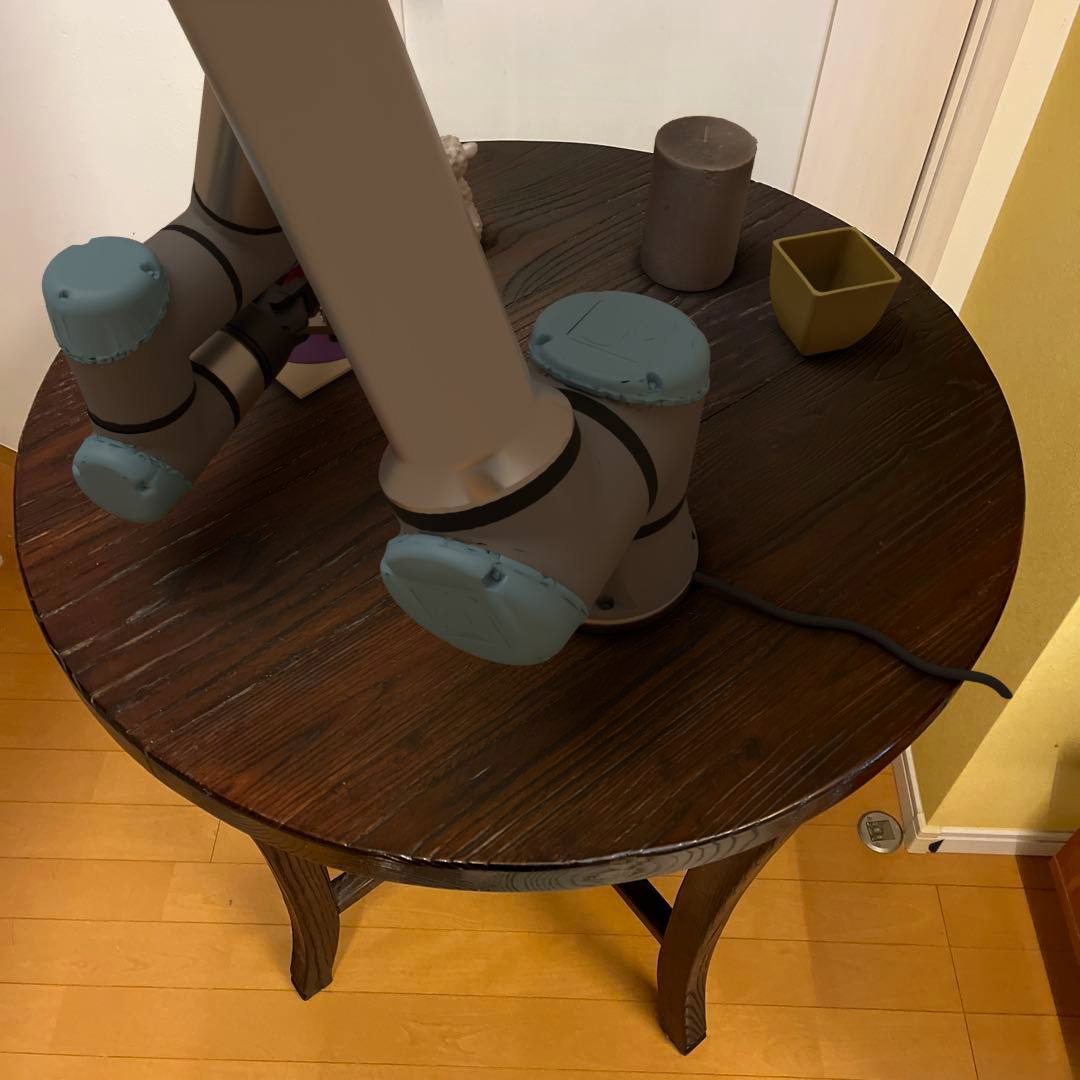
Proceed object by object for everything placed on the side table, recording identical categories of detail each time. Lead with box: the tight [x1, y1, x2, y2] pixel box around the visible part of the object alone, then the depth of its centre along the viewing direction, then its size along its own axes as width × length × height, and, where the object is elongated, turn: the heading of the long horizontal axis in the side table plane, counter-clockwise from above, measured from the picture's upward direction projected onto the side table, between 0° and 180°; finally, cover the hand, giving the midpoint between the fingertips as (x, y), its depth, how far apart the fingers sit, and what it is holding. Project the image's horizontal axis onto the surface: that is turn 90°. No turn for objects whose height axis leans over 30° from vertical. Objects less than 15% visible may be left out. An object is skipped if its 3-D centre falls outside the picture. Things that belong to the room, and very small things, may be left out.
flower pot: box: [769, 226, 902, 357], centre depth 99 cm, size 9×9×9 cm
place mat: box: [274, 306, 353, 400], centre depth 102 cm, size 16×15×1 cm
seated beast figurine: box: [440, 134, 484, 242], centre depth 107 cm, size 10×9×12 cm
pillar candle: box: [639, 115, 759, 292], centre depth 104 cm, size 10×10×15 cm
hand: (356, 206), depth 99 cm, fingers closed on plastic cup, 3 cm apart
